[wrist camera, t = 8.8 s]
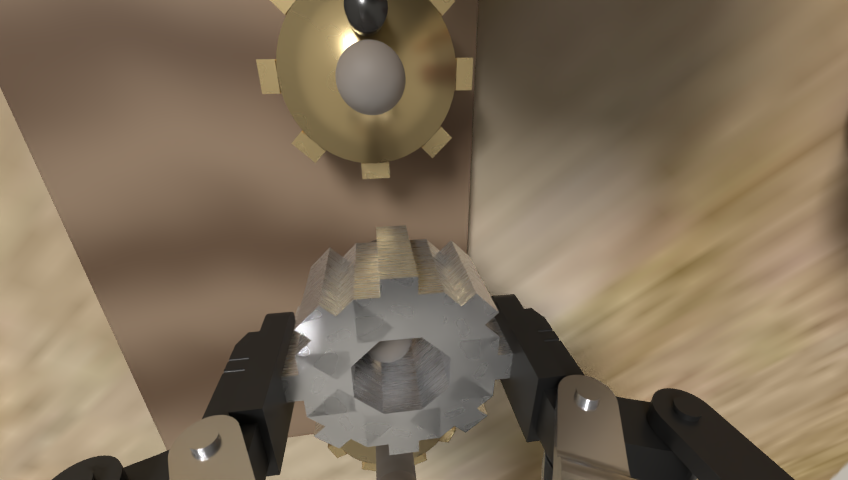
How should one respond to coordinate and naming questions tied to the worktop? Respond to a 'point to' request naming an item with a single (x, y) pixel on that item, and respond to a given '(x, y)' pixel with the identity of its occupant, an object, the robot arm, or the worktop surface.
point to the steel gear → (392, 320)
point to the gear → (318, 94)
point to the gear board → (212, 177)
